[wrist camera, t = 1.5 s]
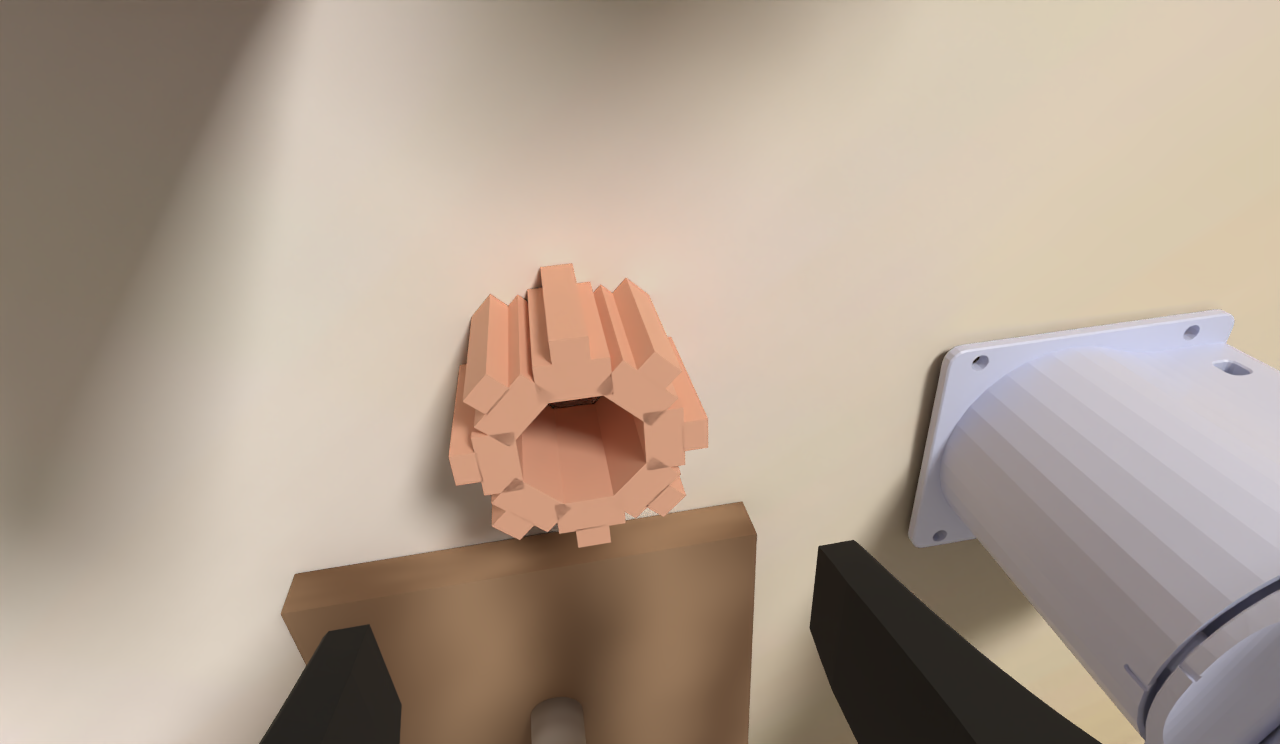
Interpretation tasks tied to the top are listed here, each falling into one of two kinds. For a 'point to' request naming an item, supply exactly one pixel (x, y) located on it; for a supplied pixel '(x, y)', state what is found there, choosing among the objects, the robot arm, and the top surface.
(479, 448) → the terracotta gear
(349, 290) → the top surface
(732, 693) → the board
